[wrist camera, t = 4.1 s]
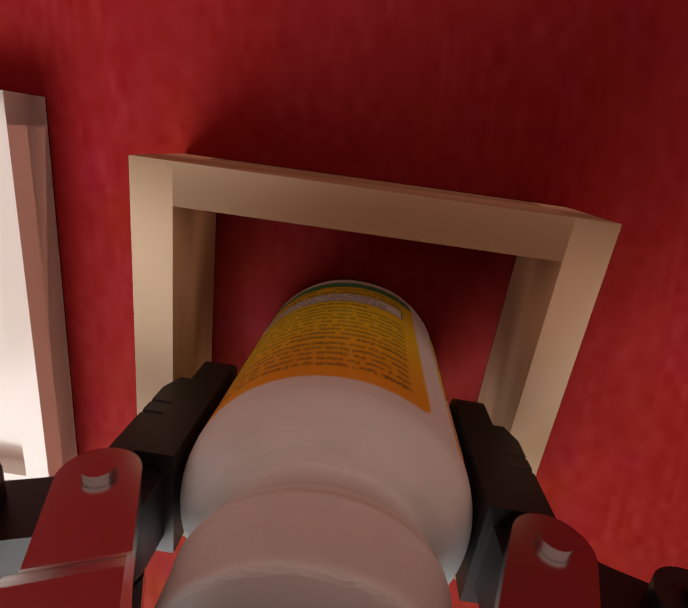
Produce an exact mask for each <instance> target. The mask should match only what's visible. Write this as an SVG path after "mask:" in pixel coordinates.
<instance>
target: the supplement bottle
mask: <svg viewBox="0 0 688 608" xmlns="http://www.w3.org/2000/svg"><path fill="white" fill-rule="evenodd" d="M180 510H181V520H182V525H183V529H184V534H185V537H186V540H185V542H184V543H183V545H182V546H181V548H180V550H179V552H178V555H177V557H176V559H175V562H174V565H173V568H172V571H171V573H170V575H169V577H168V579H167V581H166V584H165V586H164V588H163V590H162V593H161V595H160V597H159V599H158V602H157V604H156V606H155V608H451V597H450V590H449V583H450V582H451V581H452V579H453V578H454V576H455V574H456V573H457V571H458V569H459V567H460V565H461V563H462V561H463V559H464V556H465V553H466V551H467V547H468V544H469V540H470V535H471V530H472V517H473V506H472V497H471V490H470V485H469V480H468V476H467V472H466V468H465V464H464V460H463V456H462V452H461V449H460V445H459V442H458V438H457V434H456V430H455V427H454V423H453V420H452V416H451V412H450V409H449V405H448V402H447V398H446V395H445V391H444V387H443V384H442V380H441V375H440V371H439V368H438V364H437V360H436V356H435V352H434V348H433V345H432V342H431V339H430V336H429V334H428V331H427V329H426V327H425V325H424V323H423V322H422V320H421V318H420V317H419V316H418V314H417V313H416V312H415V310H414V309H413V308H412V307H411V306H410V305H409V304H408V303H407V302H406V301H404V300H403V299H402V298H401V297H400V296H398V295H397V294H395V293H393V292H392V291H390V290H387V289H385V288H383V287H380V286H377V285H374V284H370V283H367V282H362V281H356V280H332V281H327V282H322V283H319V284H316V285H313V286H311V287H309V288H307V289H305V290H303V291H301V292H299V293H298V294H296V295H295V296H294V297H292V298H291V299H290V300H289V301H288V302H286V303H285V304H284V306H283V307H282V308H281V309H280V310H279V312H278V313H277V314H276V316H275V317H274V319H273V320H272V321H271V323H270V325H269V327H268V328H267V329H266V331H265V332H264V334H263V335H262V337H261V339H260V340H259V342H258V343H257V345H256V347H255V348H254V350H253V351H252V353H251V354H250V356H249V358H248V359H247V361H246V362H245V364H244V365H243V367H242V369H241V370H240V372H239V373H238V375H237V377H236V378H235V380H234V382H233V383H232V385H231V386H230V388H229V389H228V391H227V393H226V394H225V396H224V397H223V399H222V401H221V402H220V404H219V405H218V407H217V409H216V410H215V411H214V413H213V415H212V416H211V418H210V419H209V421H208V422H207V424H206V426H205V427H204V429H203V430H202V432H201V433H200V435H199V437H198V439H197V441H196V443H195V444H194V446H193V448H192V451H191V453H190V455H189V458H188V460H187V463H186V466H185V470H184V473H183V478H182V483H181V492H180Z"/></svg>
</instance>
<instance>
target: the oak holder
mask: <svg viewBox="0 0 688 608" xmlns="http://www.w3.org/2000/svg"><path fill="white" fill-rule="evenodd" d="M129 181H130V211H131V241H132V271H133V300H134V330H135V360H136V390H137V415H138V414H139V413H140V412H142V411H143V408H144V407H145V406H146V405H147V404H148V403H149V402H150V401H152V398H153V397H154V396H155V395H156V394H157V393H158V392H159V391H160V390H161V388H162V387H163V386H165V385H167V384H169V383H171V382H173V381H174V380H176V379H178V378H180V377H184V378H192V377H193V376H194V375H195V373H196V372H197V371H198V370H199V368H200V367H201V366H202V365H203V363H204V362H206V361H210V362H212V330H213V298H214V267H215V235H216V212H217V213H224V214H231V215H238V216H245V217H252V218H259V219H266V220H273V221H280V222H287V223H294V224H301V225H308V226H315V227H322V228H329V229H336V230H343V231H350V232H356V233H363V234H370V235H377V236H384V237H391V238H398V239H405V240H412V241H419V242H426V243H433V244H440V245H447V246H454V247H461V248H468V249H475V250H482V251H489V252H496V253H503V254H510V255H517V256H516V260H515V264H514V267H513V271H512V275H511V279H510V282H509V286H508V290H507V293H506V297H505V301H504V305H503V308H502V312H501V316H500V319H499V323H498V327H497V331H496V334H495V338H494V342H493V345H492V349H491V353H490V357H489V360H488V364H487V368H486V371H485V375H484V379H483V383H482V386H481V390H480V394H479V397H478V401H477V402H478V403H483V404H484V405H485V407H486V409H487V412H488V414H489V417H490V419H491V421H492V424H493V425H496V426H503V427H504V428H505V429H506V430H507V431H509V432H510V433H511V434H512V435H513V436H514V437H515V438H516V439H517V440H518V441H519V443H520V445H521V447H522V450H523V452H524V454H525V456H526V460H528V462H529V464H530V466H531V468H532V473H534V474H535V476H536V473H537V470H538V467H539V464H540V461H541V459H542V456H543V453H544V450H545V447H546V444H547V441H548V438H549V435H550V432H551V429H552V427H553V424H554V421H555V418H556V415H557V412H558V409H559V406H560V403H561V400H562V397H563V394H564V392H565V389H566V386H567V383H568V380H569V377H570V374H571V371H572V368H573V365H574V362H575V360H576V357H577V354H578V351H579V348H580V345H581V342H582V339H583V336H584V333H585V330H586V328H587V325H588V322H589V319H590V316H591V313H592V310H593V307H594V304H595V301H596V298H597V296H598V293H599V290H600V287H601V284H602V281H603V278H604V275H605V272H606V269H607V266H608V264H609V261H610V258H611V255H612V252H613V249H614V246H615V243H616V240H617V237H618V234H619V232H620V229H621V226H622V224H619V223H616V222H613V221H610V220H606V219H603V218H600V217H597V216H593V215H590V214H587V213H584V212H580V211H577V210H574V209H571V208H568V207H562V206H555V205H547V204H540V203H533V202H526V201H519V200H512V199H505V198H498V197H490V196H483V195H476V194H469V193H462V192H455V191H448V190H441V189H433V188H426V187H419V186H412V185H405V184H398V183H391V182H383V181H376V180H369V179H362V178H355V177H348V176H341V175H334V174H326V173H319V172H312V171H305V170H298V169H291V168H284V167H277V166H269V165H262V164H255V163H248V162H241V161H234V160H227V159H220V158H212V157H205V156H198V155H191V154H184V153H183V154H144V155H129ZM182 536H185V534H184V533H183V535H182ZM453 579H456V577H455V576H454V578H453Z"/></svg>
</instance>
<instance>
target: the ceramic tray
mask: <svg viewBox="0 0 688 608" xmlns="http://www.w3.org/2000/svg"><path fill="white" fill-rule="evenodd" d="M76 456H77V445H76V434H75V423H74V412H73V401H72V390H71V379H70V368H69V357H68V346H67V335H66V324H65V313H64V302H63V291H62V280H61V269H60V258H59V247H58V236H57V225H56V214H55V203H54V192H53V181H52V170H51V159H50V148H49V136H48V125H47V114H46V103H45V97H43V96H36V95H30V94H24V93H17V92H11V91H4V90H0V463H1V465H2V467H3V473H4V479H5V480H18V479H30V478H42V477H51V476H55V474H56V473H57V471H58V470H59V469H60V468H61V467H62V466H63V465H64V464H65V463H67V462H68V461H69V460H71V459H73V458H74V457H76Z"/></svg>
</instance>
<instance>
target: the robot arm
mask: <svg viewBox="0 0 688 608" xmlns="http://www.w3.org/2000/svg"><path fill="white" fill-rule="evenodd" d="M236 377H237V367H236V366H235V365H230V364H223V363H217V362H210V361H206V362H204V363H203V365H202V366H201V367H200V368H199V370H198V371H197V372H196V373H195V375H194V376H193V377H192V378H184V377H180V378H178V379H176V380H174V381H173V382H171V383H169V384H167V385H165V386H163V387H162V388H161V390H160V391H159V392H158V393H157V394H156V395H155V396H154V397H153V398H152V401H150V402H149V403H148V404H147V405H146V406H145V407H144V408H143V411H142V412H140V413H139V414H138V415H137V416H136V417H135V418H134V420H133V421H132V422H131V423H130V424H129V425H128V426H127V427H126V429H125V430H124V431H123V432H122V433H121V434H120V435H119V436H118V437H117V439H116V440H115V441H114V442H113V443H112V444H111V445H110V446H109V447H108V448H101V449H96V450H91V451H88V452H85V453H83V454H80V455H78V456H76V457H74V458H73V459H71V460H69V461H68V462H67V463H65V464H64V465H63V466H62V467H61V468H60V469H59V470H58V471H57V473H56V474H55V476H51V477H42V478H30V479H18V480H5V479H4V473H3V467H2V465H1V463H0V608H143V603H144V592H145V580H146V575H145V568H146V566H147V565H148V563H149V561H150V559H151V557H152V556H153V554H154V552H155V550H158V551H164V552H170V553H174V551H175V549H176V547H177V545H178V543H179V541H180V539H181V537H182V535H183V533H184V529H183V525H182V520H181V510H180V492H181V483H182V478H183V473H184V470H185V466H186V463H187V460H188V458H189V455H190V453H191V451H192V448H193V446H194V444H195V443H196V441H197V439H198V437H199V435H200V433H201V432H202V430H203V429H204V427H205V426H206V424H207V422H208V421H209V419H210V418H211V416H212V415H213V413H214V411H215V410H216V409H217V407H218V405H219V404H220V402H221V401H222V399H223V397H224V396H225V394H226V393H227V391H228V389H229V388H230V386H231V385H232V383H233V382H234V380H235V378H236ZM449 409H450V412H451V416H452V420H453V423H454V427H455V430H456V434H457V438H458V442H459V445H460V449H461V452H462V456H463V460H464V464H465V468H466V472H467V476H468V480H469V485H470V490H471V497H472V506H473V517H472V530H471V535H470V540H469V544H468V547H467V551H466V553H465V556H464V559H463V561H462V563H461V565H460V567H459V569H458V571H457V573H456V574H455V577H456V582H457V588H458V593H459V598H460V600H461V601H467V602H473V603H479V608H688V570H687V569H684V568H679V567H672V566H667V567H662V568H659V569H658V570H657V571H655V573H654V575H653V577H652V579H651V581H650V583H647V582H644V581H642V580H639V579H637V578H634V577H632V576H630V575H627V574H625V573H622V572H620V571H617V570H615V569H612V568H610V567H608V566H606V565H603V564H601V563H600V562H598V561H597V557H596V555H595V552H594V551H593V549H592V547H591V546H590V545H589V543H588V542H587V541H586V540H585V539H584V538H583V536H582V535H580V534H579V533H578V532H577V531H576V530H575V529H573V528H572V527H570V526H569V525H567V524H566V523H564V522H562V521H560V520H558V519H556V518H555V516H554V514H553V512H552V510H551V507H550V505H549V503H548V501H547V499H546V497H545V495H544V493H543V491H542V489H541V487H540V485H539V483H538V481H537V479H536V476H535V474H534V473H532V468H531V466H530V464H529V462H528V460H526V456H525V454H524V452H523V450H522V447H521V445H520V443H519V441H518V440H517V439H516V438H515V437H514V436H513V435H512V434H511V433H510V432H509V431H507V430H506V429H505V428H504V427H503V426H496V425H493V424H492V421H491V419H490V417H489V414H488V412H487V409H486V407H485V405H484V404H483V403H478V402H472V401H465V400H459V399H452V401H451V402H450V405H449Z"/></svg>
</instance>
